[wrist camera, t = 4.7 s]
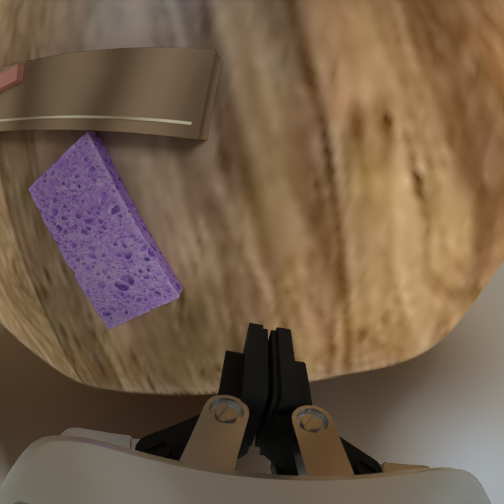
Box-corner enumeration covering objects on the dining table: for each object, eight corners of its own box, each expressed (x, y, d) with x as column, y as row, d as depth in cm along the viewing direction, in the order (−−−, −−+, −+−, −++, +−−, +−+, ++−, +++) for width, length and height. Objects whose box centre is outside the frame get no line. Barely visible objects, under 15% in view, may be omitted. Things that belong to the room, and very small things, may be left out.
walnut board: (222, 61, 15) (215, 49, 13) (207, 140, 17) (197, 139, 15) (-24, 82, 15) (-43, 81, 13) (-31, 133, 17) (-50, 136, 14)
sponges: (117, 317, 22) (108, 330, 21) (39, 182, 19) (24, 187, 17) (187, 286, 21) (181, 298, 19) (101, 129, 18) (86, 129, 16)
